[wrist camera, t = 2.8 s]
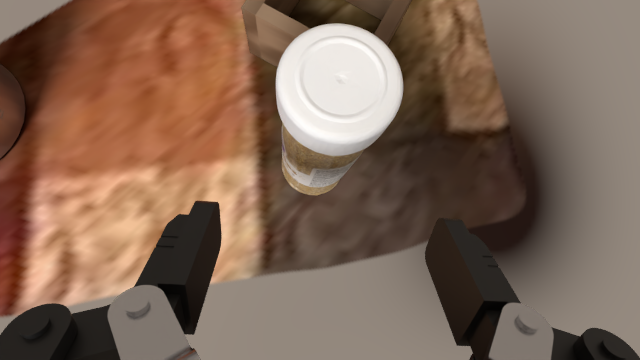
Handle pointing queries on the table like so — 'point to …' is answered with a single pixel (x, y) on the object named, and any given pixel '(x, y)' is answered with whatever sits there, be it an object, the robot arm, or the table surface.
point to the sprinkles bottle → (333, 102)
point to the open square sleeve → (280, 30)
